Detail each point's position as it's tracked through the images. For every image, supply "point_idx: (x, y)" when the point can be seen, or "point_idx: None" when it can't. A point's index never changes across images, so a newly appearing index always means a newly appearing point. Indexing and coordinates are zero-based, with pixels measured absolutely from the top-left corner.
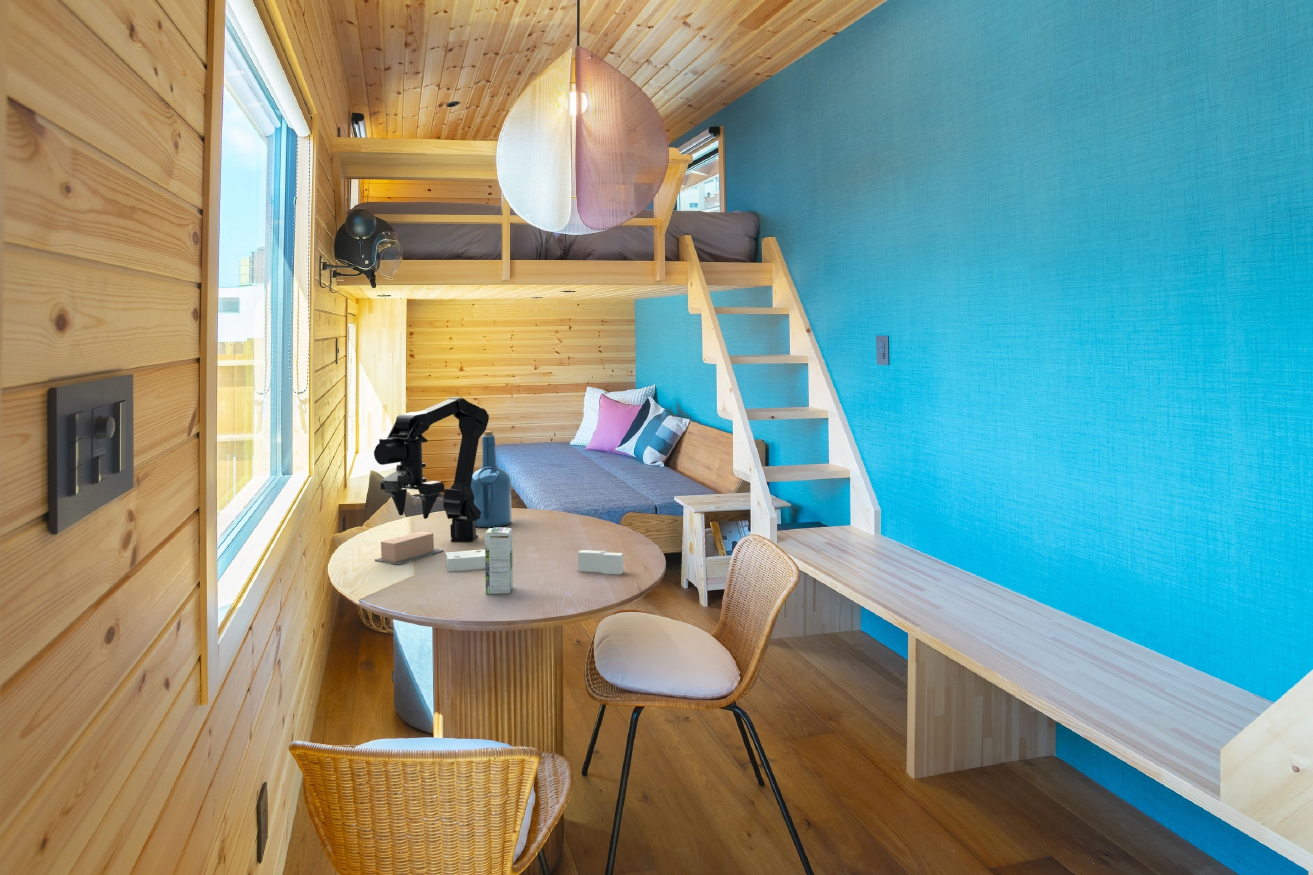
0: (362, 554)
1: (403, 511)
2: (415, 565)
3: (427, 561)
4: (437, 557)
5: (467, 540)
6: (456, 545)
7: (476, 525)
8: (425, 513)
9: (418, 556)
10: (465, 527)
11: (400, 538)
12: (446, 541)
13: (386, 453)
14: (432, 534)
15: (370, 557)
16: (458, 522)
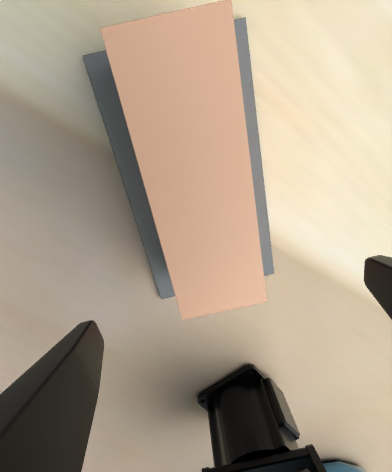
0: (388, 52)
1: (382, 304)
2: (29, 111)
3: (63, 185)
4: (96, 242)
5: (206, 393)
6: (199, 354)
7: (324, 466)
8: (43, 360)
9: (145, 194)
10: (223, 436)
11: (208, 150)
12: (267, 358)
13: None
14: (180, 312)
15: (313, 46)
16: (247, 445)
